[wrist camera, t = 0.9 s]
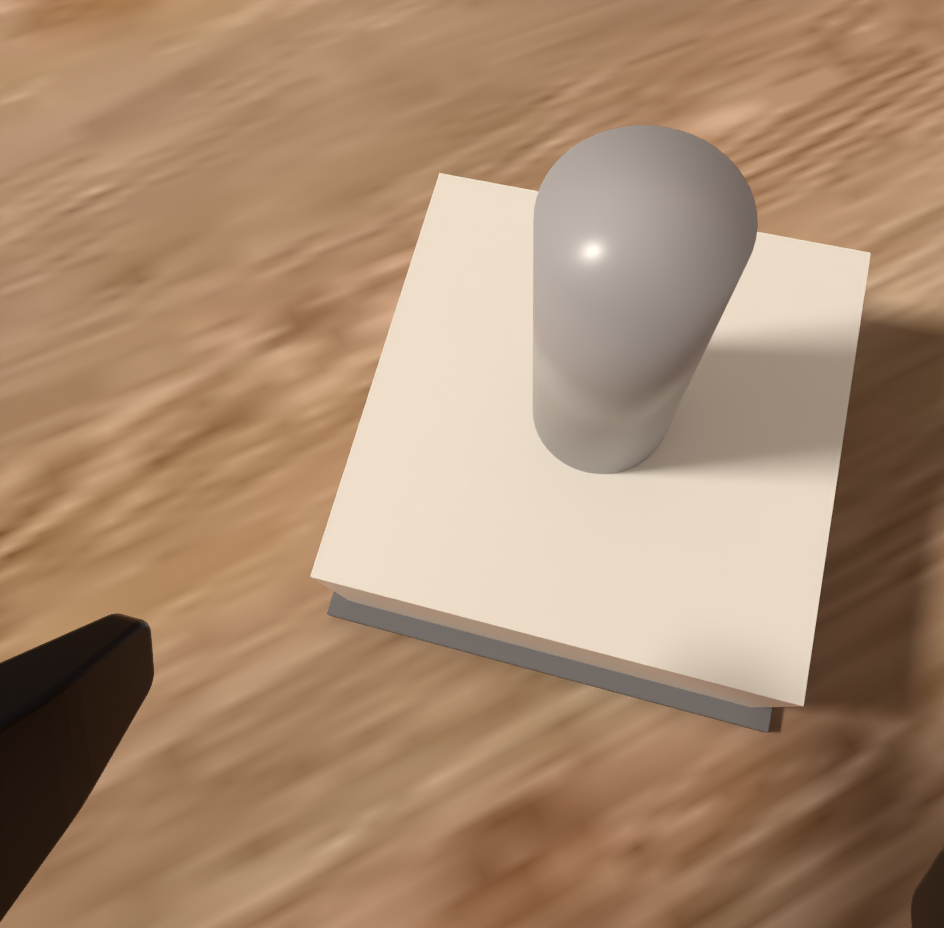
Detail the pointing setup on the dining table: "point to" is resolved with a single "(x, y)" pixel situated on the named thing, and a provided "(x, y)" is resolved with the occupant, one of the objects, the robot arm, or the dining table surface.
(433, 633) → the charcoal rubber mat
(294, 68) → the dining table surface
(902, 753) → the dining table surface
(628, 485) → the cream bowl cover
